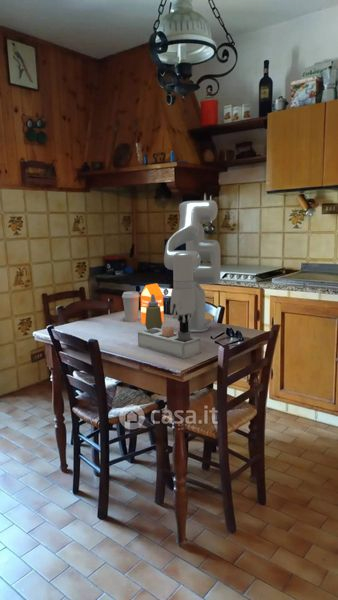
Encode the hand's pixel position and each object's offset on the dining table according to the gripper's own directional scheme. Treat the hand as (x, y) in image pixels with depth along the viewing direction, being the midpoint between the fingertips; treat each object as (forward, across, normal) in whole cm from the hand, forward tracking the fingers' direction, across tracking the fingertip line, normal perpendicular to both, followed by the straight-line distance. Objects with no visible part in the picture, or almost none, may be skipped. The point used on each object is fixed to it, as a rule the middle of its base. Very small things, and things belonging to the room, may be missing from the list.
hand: (184, 331), depth 165 cm
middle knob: (+5, 0, -9) cm, 10 cm away
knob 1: (+8, 0, -18) cm, 20 cm away
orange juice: (+9, -27, -48) cm, 56 cm away
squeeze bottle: (+9, -15, -34) cm, 39 cm away
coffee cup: (+9, -23, -60) cm, 65 cm away
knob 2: (+5, 0, 0) cm, 5 cm away
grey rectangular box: (+9, 0, -9) cm, 13 cm away
